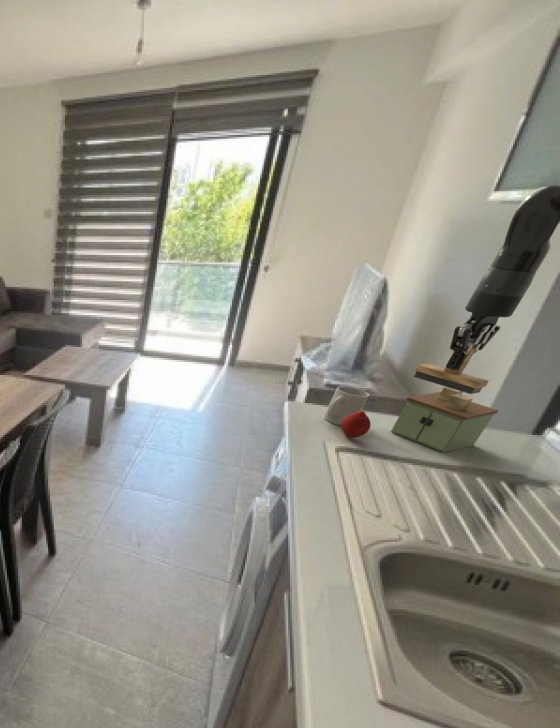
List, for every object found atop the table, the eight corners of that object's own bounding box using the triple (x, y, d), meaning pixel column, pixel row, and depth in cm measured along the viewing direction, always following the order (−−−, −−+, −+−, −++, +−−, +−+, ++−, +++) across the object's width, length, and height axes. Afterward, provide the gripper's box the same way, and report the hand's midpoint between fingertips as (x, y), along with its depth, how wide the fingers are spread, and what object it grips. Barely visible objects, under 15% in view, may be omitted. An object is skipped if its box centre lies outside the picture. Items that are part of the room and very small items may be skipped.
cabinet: (475, 445, 124) (499, 410, 119) (442, 454, 118) (465, 417, 114) (420, 424, 134) (439, 391, 129) (386, 431, 129) (405, 397, 124)
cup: (360, 425, 132) (375, 394, 127) (337, 429, 128) (352, 398, 124) (333, 414, 137) (347, 385, 133) (310, 418, 134) (324, 388, 129)
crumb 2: (465, 409, 118) (472, 398, 117) (459, 411, 117) (466, 399, 116) (451, 405, 121) (458, 394, 119) (444, 406, 120) (451, 395, 118)
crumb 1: (457, 401, 123) (464, 390, 122) (451, 402, 122) (457, 391, 121) (443, 397, 126) (450, 386, 124) (437, 398, 124) (443, 387, 123)
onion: (361, 437, 125) (376, 409, 121) (363, 445, 120) (378, 416, 116) (334, 430, 127) (348, 403, 123) (336, 438, 123) (350, 410, 119)
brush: (481, 393, 109) (505, 354, 105) (472, 394, 108) (495, 356, 103) (421, 374, 119) (440, 339, 114) (411, 376, 117) (431, 340, 113)
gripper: (505, 296, 97) (457, 376, 106) (539, 294, 102) (490, 371, 111) (460, 288, 103) (418, 365, 112) (494, 287, 108) (451, 360, 117)
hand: (454, 368), depth 111 cm, fingers closed on brush, 2 cm apart
